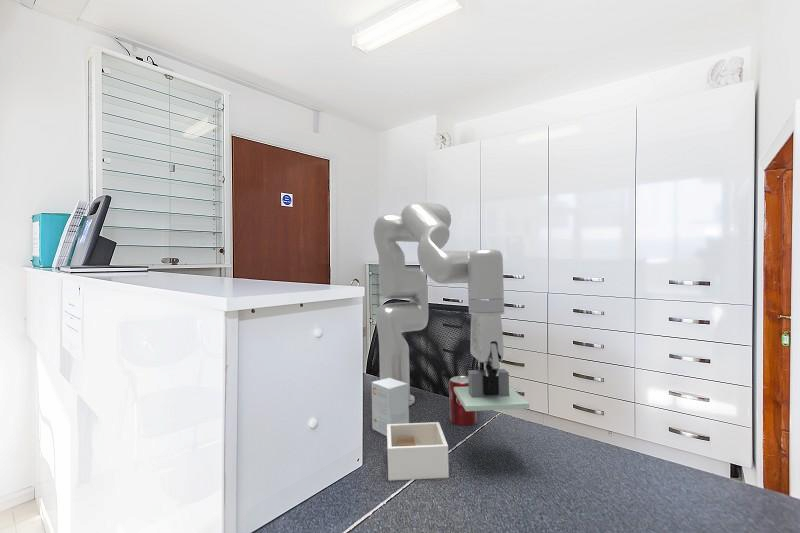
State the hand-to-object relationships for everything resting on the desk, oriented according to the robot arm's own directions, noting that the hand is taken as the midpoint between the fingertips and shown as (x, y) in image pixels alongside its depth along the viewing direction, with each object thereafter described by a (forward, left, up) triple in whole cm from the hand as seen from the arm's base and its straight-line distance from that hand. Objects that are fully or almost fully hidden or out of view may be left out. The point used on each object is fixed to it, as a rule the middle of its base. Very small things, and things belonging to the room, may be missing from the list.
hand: (488, 391), depth 82 cm
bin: (0, -16, -16) cm, 22 cm away
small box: (-18, -21, -16) cm, 32 cm away
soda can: (-22, -1, -16) cm, 27 cm away
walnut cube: (-2, -18, -15) cm, 23 cm away
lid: (0, 0, -2) cm, 2 cm away
